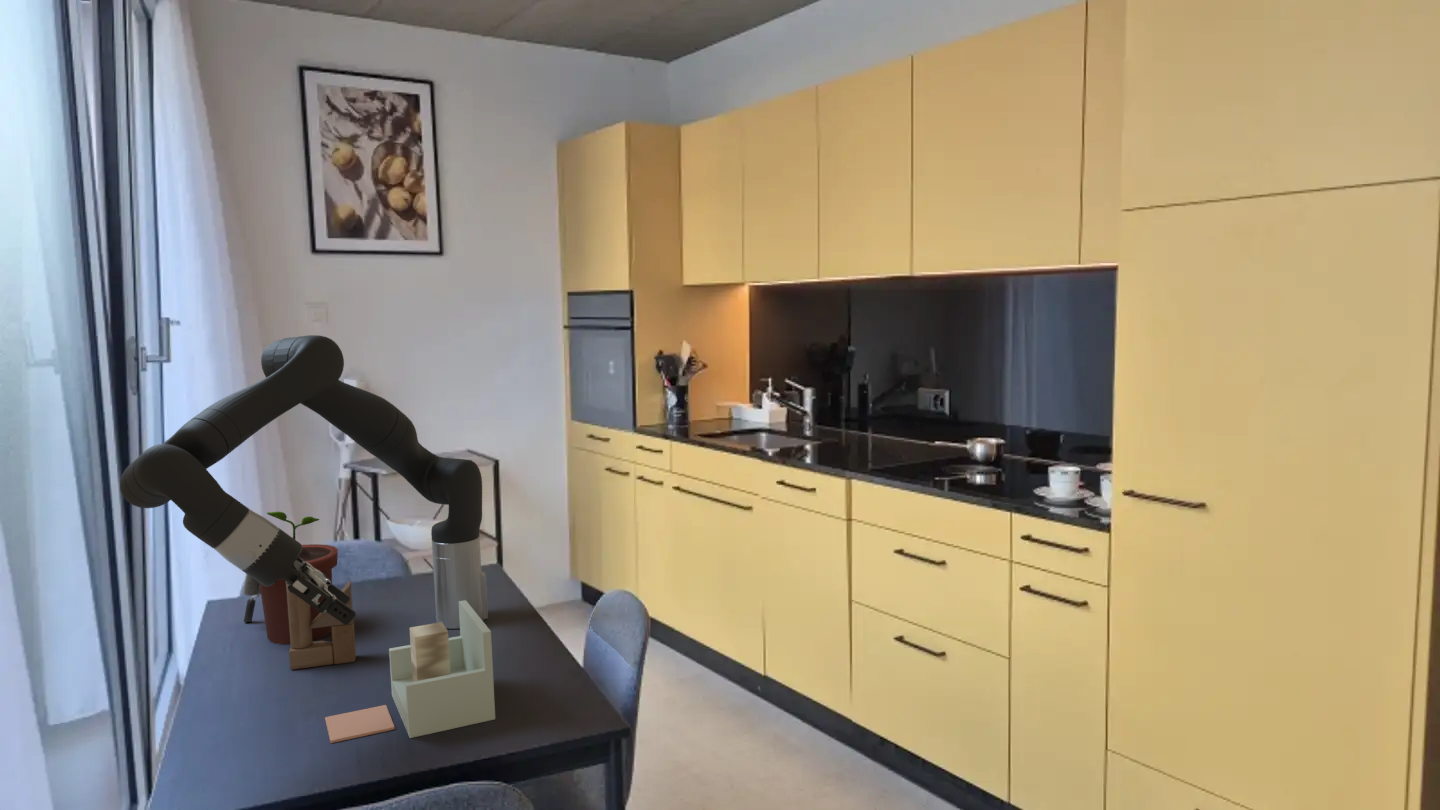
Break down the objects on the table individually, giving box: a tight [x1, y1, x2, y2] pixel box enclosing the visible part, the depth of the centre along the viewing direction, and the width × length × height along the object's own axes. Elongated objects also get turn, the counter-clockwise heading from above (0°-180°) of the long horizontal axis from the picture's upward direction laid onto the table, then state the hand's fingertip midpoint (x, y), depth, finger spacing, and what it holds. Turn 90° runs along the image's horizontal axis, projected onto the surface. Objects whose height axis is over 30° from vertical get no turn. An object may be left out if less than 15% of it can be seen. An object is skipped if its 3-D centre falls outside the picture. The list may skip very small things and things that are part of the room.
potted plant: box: [242, 511, 339, 645], centre depth 186 cm, size 18×22×25 cm
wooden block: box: [286, 580, 357, 671], centre depth 169 cm, size 4×11×18 cm, turn 108°
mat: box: [324, 704, 396, 744], centre depth 144 cm, size 9×9×1 cm
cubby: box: [388, 600, 496, 739], centre depth 149 cm, size 13×17×14 cm
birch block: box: [409, 622, 450, 682], centre depth 148 cm, size 5×5×10 cm
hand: (348, 611), depth 142 cm, fingers open, 8 cm apart
